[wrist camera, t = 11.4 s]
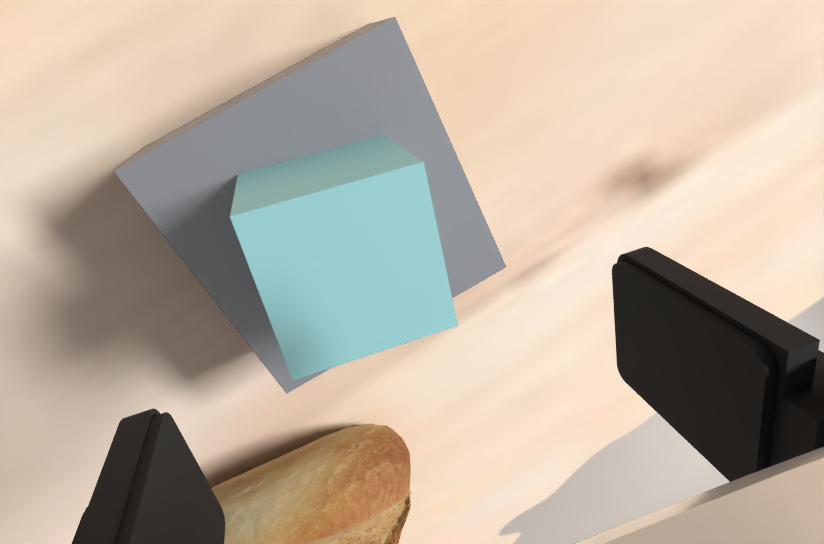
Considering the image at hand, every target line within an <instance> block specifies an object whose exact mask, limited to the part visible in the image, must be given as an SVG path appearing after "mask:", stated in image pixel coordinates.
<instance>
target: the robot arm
mask: <svg viewBox="0 0 824 544" xmlns="http://www.w3.org/2000/svg"><path fill="white" fill-rule="evenodd" d="M612 281H613V299H614V317H615V336H616V354H617V367H618V370H619V373H620V375H621V377H622V378H623V380H624V381H625V382H626V383H627V384H628V385H629V386H630V387H631V388H632V389H633V390H634V391H635V392H636V393H637V394H639V395H640V396H641V397H642V398H643V399H644V400H645V401H646V402H647V403H648V404H649V405H650V406H651V407H652V408H653V409H654V410H655V411H656V412H657V413H658V414H660V415H661V416H662V417H663V418H664V419H665V420H666V421H667V422H668V423H669V424H670V425H671V426H672V427H673V428H674V429H675V430H676V431H677V432H678V433H679V434H681V435H682V436H683V437H684V438H685V439H686V440H687V441H688V442H689V443H690V444H691V445H692V446H693V447H694V448H695V449H696V450H697V451H698V452H699V453H700V454H702V455H703V456H704V457H705V458H706V459H707V460H708V461H709V462H710V463H711V464H712V465H713V466H714V467H715V468H716V469H717V470H718V471H719V472H720V473H721V474H722V475H724V476H725V477H726V478H727V479H728V480H729V481H730V482H729V483H727V484H724V485H721V486H719V487H716V488H714V489H711V490H709V491H706V492H704V493H701V494H699V495H696V496H694V497H691V498H689V499H686V500H684V501H681V502H679V503H676V504H674V505H671V506H668V507H666V508H664V509H661V510H658V511H656V512H653V513H651V514H648V515H646V516H644V517H641V518H638V519H636V520H633V521H631V522H628V523H626V524H623V525H621V526H618V527H615V528H613V529H610V530H608V531H605V532H603V533H600V534H598V535H595V536H593V537H590V538H588V539H585V540H583V541H580V542H578V543H576V544H824V353H823V352H821V351H819V350H818V348H819V341H820V340H819V339H817V338H815V337H813V336H811V335H809V334H808V333H806V332H804V331H802V330H800V329H798V328H797V327H795V326H793V325H791V324H789V323H787V322H786V321H784V320H782V319H780V318H778V317H776V316H775V315H773V314H771V313H769V312H767V311H765V310H764V309H762V308H760V307H758V306H756V305H754V304H753V303H751V302H749V301H747V300H745V299H743V298H742V297H740V296H738V295H736V294H734V293H732V292H731V291H729V290H727V289H725V288H723V287H721V286H719V285H718V284H716V283H714V282H712V281H710V280H708V279H707V278H705V277H703V276H701V275H699V274H697V273H696V272H694V271H692V270H690V269H688V268H686V267H685V266H683V265H681V264H679V263H677V262H675V261H674V260H672V259H670V258H668V257H666V256H664V255H663V254H661V253H659V252H657V251H655V250H653V249H652V248H649V247H643V248H640V249H637V250H634V251H631V252H628V253H625V254H622V255H620V256H619V258H618V261H617V263H616V264H614V265H613V268H612ZM224 539H225V517H224V513H223V510H222V507H221V505H220V504H219V502H218V500H217V498H216V496H215V494H214V493H213V491H212V489H211V487H210V485H209V483H208V482H207V480H206V478H205V476H204V474H203V473H202V471H201V469H200V467H199V465H198V463H197V462H196V460H195V458H194V456H193V454H192V452H191V451H190V449H189V447H188V445H187V443H186V441H185V440H184V438H183V436H182V434H181V432H180V431H179V429H178V427H177V425H176V423H175V421H174V420H173V418H172V416H171V415H170V414H169V413H167V412H166V413H163V414H160V413H159V411H157V410H156V409H150V410H147V411H144V412H141V413H138V414H135V415H132V416H129V417H126V418H124V419H122V420H121V421H120V423H119V425H118V428H117V431H116V433H115V436H114V439H113V441H112V444H111V447H110V449H109V452H108V455H107V457H106V460H105V463H104V465H103V468H102V471H101V473H100V476H99V479H98V481H97V484H96V487H95V490H94V492H93V495H92V498H91V500H90V503H89V506H88V507H87V508H86V510H85V512H84V514H83V515H82V518H81V521H80V523H79V526H78V529H77V531H76V534H75V537H74V539H73V542H72V544H224Z"/></svg>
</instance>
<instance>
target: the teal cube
mask: <svg viewBox="0 0 824 544" xmlns="http://www.w3.org/2000/svg"><path fill="white" fill-rule="evenodd" d="M230 219H231V221H232V224H233V226H234V229H235V232H236V234H237V237H238V239H239V242H240V245H241V247H242V250H243V252H244V255H245V258H246V260H247V263H248V265H249V268H250V271H251V273H252V276H253V278H254V281H255V284H256V286H257V289H258V291H259V294H260V297H261V299H262V302H263V304H264V307H265V310H266V312H267V315H268V317H269V320H270V323H271V325H272V328H273V330H274V333H275V336H276V338H277V341H278V343H279V346H280V349H281V351H282V354H283V356H284V359H285V362H286V364H287V367H288V369H289V372H290V375H291V377H292V380H296V379H299V378H302V377H305V376H308V375H311V374H314V373H317V372H320V371H323V370H326V369H329V368H332V367H335V366H338V365H341V364H344V363H347V362H350V361H353V360H356V359H359V358H362V357H365V356H368V355H371V354H374V353H377V352H380V351H383V350H386V349H389V348H392V347H395V346H398V345H401V344H404V343H407V342H410V341H413V340H416V339H419V338H422V337H425V336H428V335H431V334H434V333H437V332H440V331H443V330H446V329H449V328H452V327H455V326H458V323H457V319H456V314H455V309H454V304H453V300H452V295H451V290H450V285H449V280H448V276H447V271H446V266H445V261H444V256H443V252H442V247H441V242H440V237H439V233H438V228H437V223H436V218H435V213H434V209H433V204H432V199H431V194H430V189H429V185H428V180H427V175H426V170H425V166H424V162H423V161H422V160H420V159H419V158H417V157H416V156H414V155H413V154H411V153H410V152H408V151H407V150H405V149H404V148H403V147H401V146H400V145H398V144H397V143H395V142H394V141H392V140H391V139H389V138H388V137H386V136H385V135H381V136H377V137H374V138H370V139H366V140H363V141H359V142H355V143H352V144H348V145H344V146H341V147H337V148H333V149H330V150H326V151H322V152H318V153H315V154H311V155H307V156H304V157H300V158H296V159H293V160H289V161H285V162H282V163H278V164H274V165H271V166H267V167H263V168H260V169H256V170H252V171H249V172H245V173H241V174H238V176H237V182H236V187H235V192H234V197H233V203H232V208H231V213H230Z"/></svg>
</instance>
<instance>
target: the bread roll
mask: <svg viewBox="0 0 824 544" xmlns="http://www.w3.org/2000/svg"><path fill="white" fill-rule="evenodd" d="M211 489H212V491H213V493H214V494H215V496H216V498H217V500H218V502H219V504H220V505H221V507H222V510H223V513H224V517H225V539H224V544H398V543H399V539H400V535H401V531H402V528H403V526H404V524H405V521H406V518H407V515H408V513H409V510H410V506H411V505H410V493H411V492H410V490H409V489H410V455H409V451H408V449H407V446H406V444H405V442H404V441H403V439H402V438H401V437H400V436H399V435H398V434H397V433H396V432H395V431H394V430H393V429H391V428H390V427H388V426H378V425H374V424H368V425H357V426H352V427H348V428H345V429H342V430H339V431H337V432H334V433H331V434H328V435H325V436H323V437H321V438H319V439H317V440H314V441H313V442H311V443H309V444H306V445H304V446H302V447H300V448H298V449H296V450H294V451H291V452H289V453H287V454H284V455H282V456H280V457H278V458H276V459H273V460H271V461H269V462H267V463H265V464H262V465H260V466H258V467H255V468H253V469H251V470H249V471H247V472H245V473H243V474H241V475H238V476H236V477H233V478H231V479H229V480H226V481H224V482H222V483H220V484H218V485H216V486H214V487H212V488H211Z"/></svg>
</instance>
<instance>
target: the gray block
mask: <svg viewBox="0 0 824 544" xmlns="http://www.w3.org/2000/svg"><path fill="white" fill-rule="evenodd" d="M381 135H385V136H386V137H388V138H389V139H391V140H392V141H394V142H395V143H397V144H398V145H400V146H401V147H403V148H404V149H405V150H407V151H408V152H410V153H411V154H413V155H414V156H416V157H417V158H419V159H420V160H422V161H423V162H424V166H425V170H426V175H427V180H428V185H429V189H430V194H431V199H432V204H433V209H434V213H435V218H436V223H437V228H438V233H439V237H440V242H441V247H442V252H443V256H444V261H445V266H446V271H447V276H448V280H449V285H450V290H451V295H452V298H453V297H455V296H457V295H459V294H460V293H462V292H464V291H466V290H467V289H469V288H471V287H473V286H474V285H476V284H478V283H480V282H481V281H483V280H485V279H486V278H488V277H490V276H492V275H493V274H495V273H497V272H499V271H500V270H502V269H504V268H506V265H505V263H504V261H503V259H502V256H501V254H500V252H499V250H498V247H497V245H496V243H495V241H494V238H493V236H492V234H491V232H490V229H489V227H488V225H487V223H486V220H485V218H484V216H483V214H482V211H481V209H480V207H479V205H478V202H477V200H476V198H475V196H474V193H473V191H472V189H471V187H470V184H469V182H468V180H467V178H466V175H465V173H464V171H463V169H462V166H461V164H460V162H459V160H458V157H457V155H456V153H455V151H454V148H453V146H452V144H451V142H450V139H449V137H448V135H447V133H446V130H445V128H444V126H443V124H442V121H441V119H440V117H439V115H438V112H437V110H436V108H435V106H434V103H433V101H432V99H431V97H430V94H429V92H428V90H427V88H426V85H425V83H424V81H423V79H422V76H421V74H420V72H419V70H418V67H417V65H416V63H415V61H414V58H413V56H412V54H411V52H410V49H409V47H408V45H407V43H406V40H405V38H404V36H403V34H402V31H401V29H400V27H399V25H398V22H397V20H396V18H395V17H393V18H389V19H386V20H382V21H378V22H374V23H370V24H368V25H366V26H364V27H362V28H360V29H358V30H357V31H355V32H353V33H351V34H349V35H348V36H346V37H344V38H342V39H340V40H338V41H337V42H335V43H333V44H331V45H329V46H327V47H326V48H324V49H322V50H320V51H318V52H317V53H315V54H313V55H311V56H309V57H307V58H306V59H304V60H302V61H300V62H298V63H296V64H295V65H293V66H291V67H289V68H287V69H286V70H284V71H282V72H280V73H278V74H276V75H275V76H273V77H271V78H269V79H267V80H266V81H264V82H262V83H260V84H258V85H256V86H255V87H253V88H251V89H249V90H247V91H245V92H244V93H242V94H240V95H238V96H236V97H235V98H233V99H231V100H229V101H227V102H225V103H224V104H222V105H220V106H218V107H216V108H214V109H213V110H211V111H209V112H207V113H205V114H204V115H202V116H200V117H198V118H196V119H194V120H193V121H191V122H189V123H187V124H185V125H183V126H182V127H180V128H178V129H176V130H174V131H173V132H171V133H169V134H167V135H165V136H163V137H162V138H160V139H158V140H156V141H154V142H152V143H151V144H149V145H147V146H145V147H144V148H142V149H141V150H140V151H139V152H137V153H136V154H135V155H134V156H132V157H131V158H130V159H129V160H127V161H126V162H125V163H124V164H122V165H121V166H120V167H119V168H118V169H116V170H115V171H114V173H115V174H116V175H117V176H118V178H119V179H120V180H121V182H122V183H123V184H124V185H125V187H126V188H127V189H128V191H129V192H130V193H131V194H132V196H133V197H134V198H135V200H136V201H137V202H138V203H139V205H140V206H141V207H142V208H143V210H144V211H145V212H146V214H147V215H148V216H149V217H150V219H151V220H152V221H153V223H154V224H155V225H156V226H157V228H158V229H159V230H160V232H161V233H162V234H163V235H164V237H165V238H166V239H167V241H168V242H169V243H170V244H171V246H172V247H173V248H174V250H175V251H176V252H177V253H178V255H179V256H180V257H181V259H182V260H183V261H184V262H185V264H186V265H187V266H188V268H189V269H190V270H191V271H192V273H193V274H194V275H195V277H196V278H197V279H198V280H199V282H200V283H201V284H202V286H203V287H204V288H205V289H206V291H207V292H208V293H209V295H210V296H211V297H212V298H213V300H214V301H215V302H216V304H217V305H218V306H219V307H220V309H221V310H222V311H223V313H224V314H225V315H226V316H227V318H228V319H229V320H230V322H231V323H232V324H233V325H234V327H235V328H236V329H237V331H238V332H239V333H240V334H241V336H242V337H243V338H244V340H245V341H246V342H247V343H248V345H249V346H250V347H251V349H252V350H253V351H254V352H255V354H256V355H257V356H258V358H259V359H260V360H261V361H262V363H263V364H264V365H265V367H266V368H267V369H268V370H269V372H270V373H271V374H272V376H273V377H274V378H275V379H276V381H277V382H278V383H279V385H280V386H281V387H282V388H283V390H284V391H285V392H286V393H288V392H290V391H292V390H294V389H295V388H297V387H299V386H301V385H302V384H304V383H306V382H308V381H309V380H311V379H313V378H315V377H316V376H318V375H320V374H321V373H323V372H325V371H327V370H328V369H326V370H323V371H320V372H317V373H314V374H311V375H308V376H305V377H302V378H299V379H296V380H292V377H291V375H290V372H289V369H288V367H287V364H286V362H285V359H284V356H283V354H282V351H281V349H280V346H279V343H278V341H277V338H276V336H275V333H274V330H273V328H272V325H271V323H270V320H269V317H268V315H267V312H266V310H265V307H264V304H263V302H262V299H261V297H260V294H259V291H258V289H257V286H256V284H255V281H254V278H253V276H252V273H251V271H250V268H249V265H248V263H247V260H246V258H245V255H244V252H243V250H242V247H241V245H240V242H239V239H238V237H237V234H236V232H235V229H234V226H233V224H232V221H231V219H230V213H231V208H232V203H233V197H234V192H235V187H236V182H237V176H238V174H241V173H245V172H249V171H252V170H256V169H260V168H263V167H267V166H271V165H274V164H278V163H282V162H285V161H289V160H293V159H296V158H300V157H304V156H307V155H311V154H315V153H318V152H322V151H326V150H330V149H333V148H337V147H341V146H344V145H348V144H352V143H355V142H359V141H363V140H366V139H370V138H374V137H377V136H381ZM329 369H330V368H329Z"/></svg>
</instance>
